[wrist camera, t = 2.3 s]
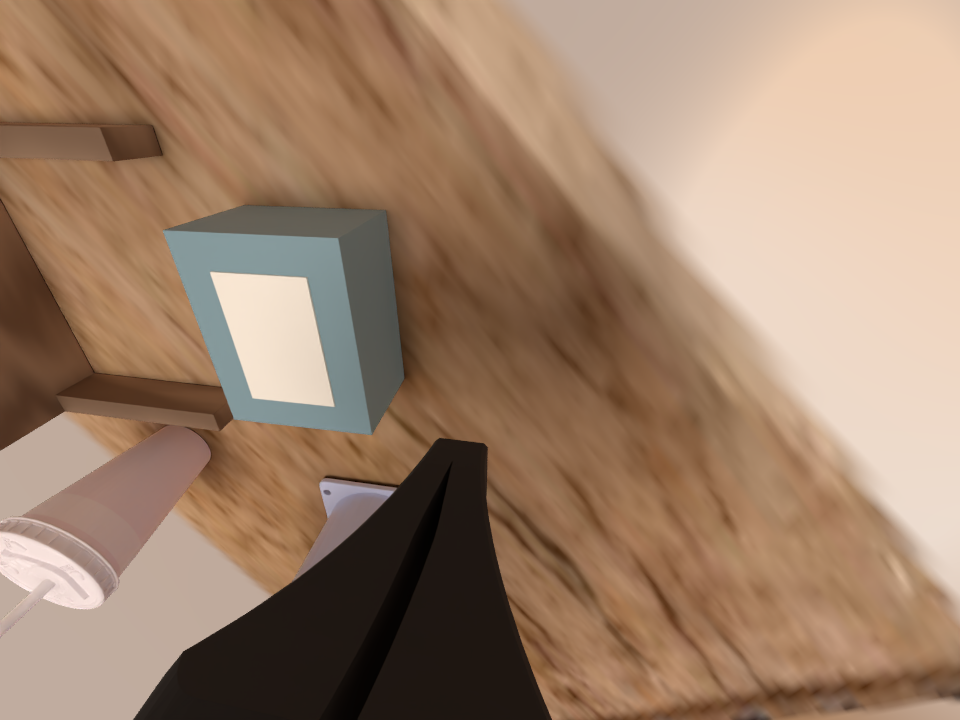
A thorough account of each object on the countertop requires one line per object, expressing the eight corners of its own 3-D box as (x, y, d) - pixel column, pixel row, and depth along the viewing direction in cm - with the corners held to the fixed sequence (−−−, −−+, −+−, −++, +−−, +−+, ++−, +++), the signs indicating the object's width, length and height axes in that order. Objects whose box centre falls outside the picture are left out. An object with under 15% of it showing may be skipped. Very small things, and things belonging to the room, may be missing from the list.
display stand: (247, 405, 27) (172, 475, 22) (86, 386, 28) (-18, 447, 23) (151, 125, 19) (-1, 131, 14) (-63, 121, 20) (-272, 125, 15)
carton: (405, 376, 24) (370, 436, 19) (290, 365, 25) (232, 420, 20) (387, 209, 19) (336, 238, 15) (246, 204, 20) (160, 230, 16)
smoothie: (211, 491, 32) (4, 718, 20) (131, 442, 31) (-143, 655, 19) (242, 448, 29) (19, 687, 17) (155, 392, 27) (-155, 608, 16)
